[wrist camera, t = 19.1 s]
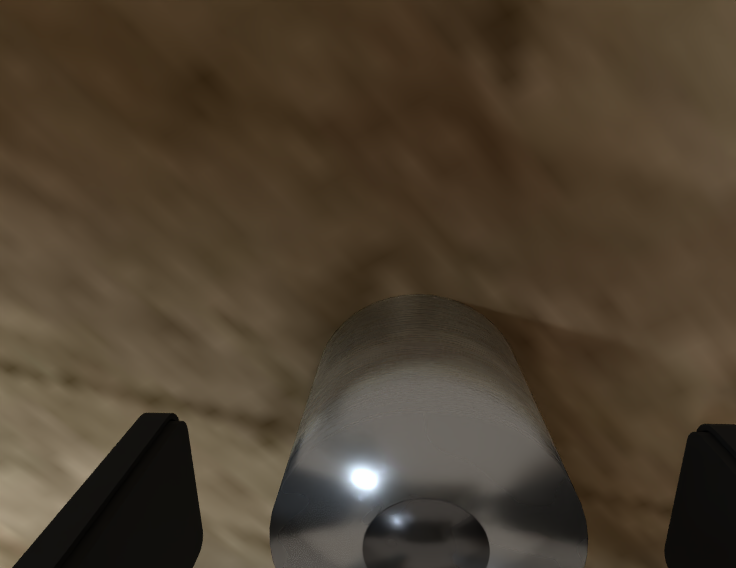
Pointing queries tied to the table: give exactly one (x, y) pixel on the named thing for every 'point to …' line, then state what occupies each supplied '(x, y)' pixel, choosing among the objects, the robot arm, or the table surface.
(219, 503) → the table surface
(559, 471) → the silver jar with knob
